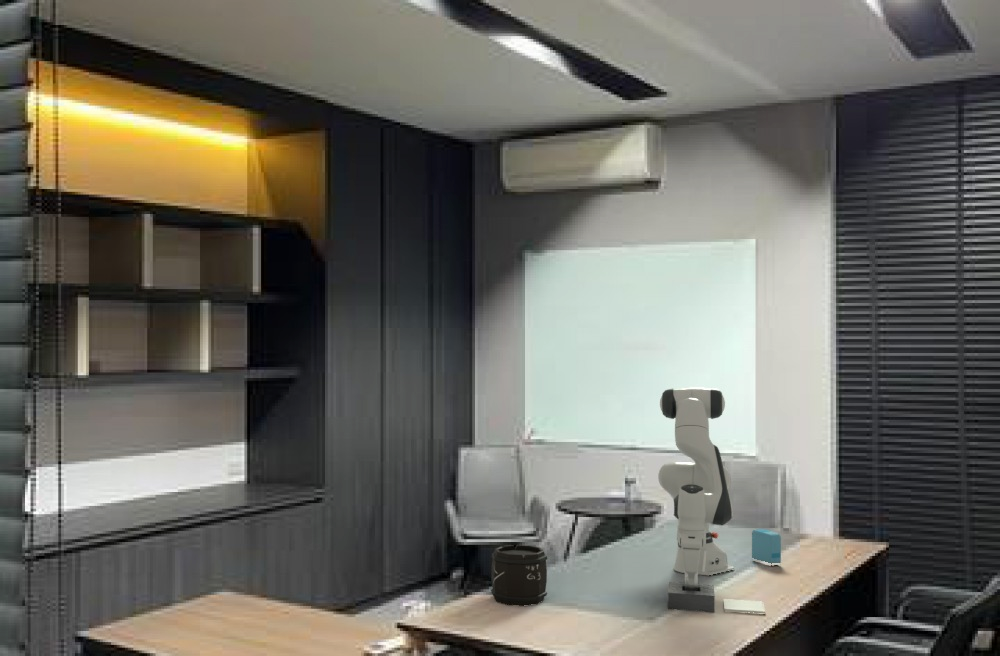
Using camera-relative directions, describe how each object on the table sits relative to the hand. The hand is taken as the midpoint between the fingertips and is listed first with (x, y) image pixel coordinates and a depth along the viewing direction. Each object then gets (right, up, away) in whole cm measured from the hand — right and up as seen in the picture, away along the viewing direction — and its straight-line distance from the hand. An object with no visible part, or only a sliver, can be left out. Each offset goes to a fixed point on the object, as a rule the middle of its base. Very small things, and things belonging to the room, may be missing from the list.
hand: (691, 581), depth 291 cm
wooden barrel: (-54, -7, +4) cm, 55 cm away
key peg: (0, -5, 0) cm, 5 cm away
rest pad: (+16, -7, -4) cm, 18 cm away
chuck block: (0, -7, 0) cm, 7 cm away
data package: (+41, -10, +60) cm, 73 cm away
